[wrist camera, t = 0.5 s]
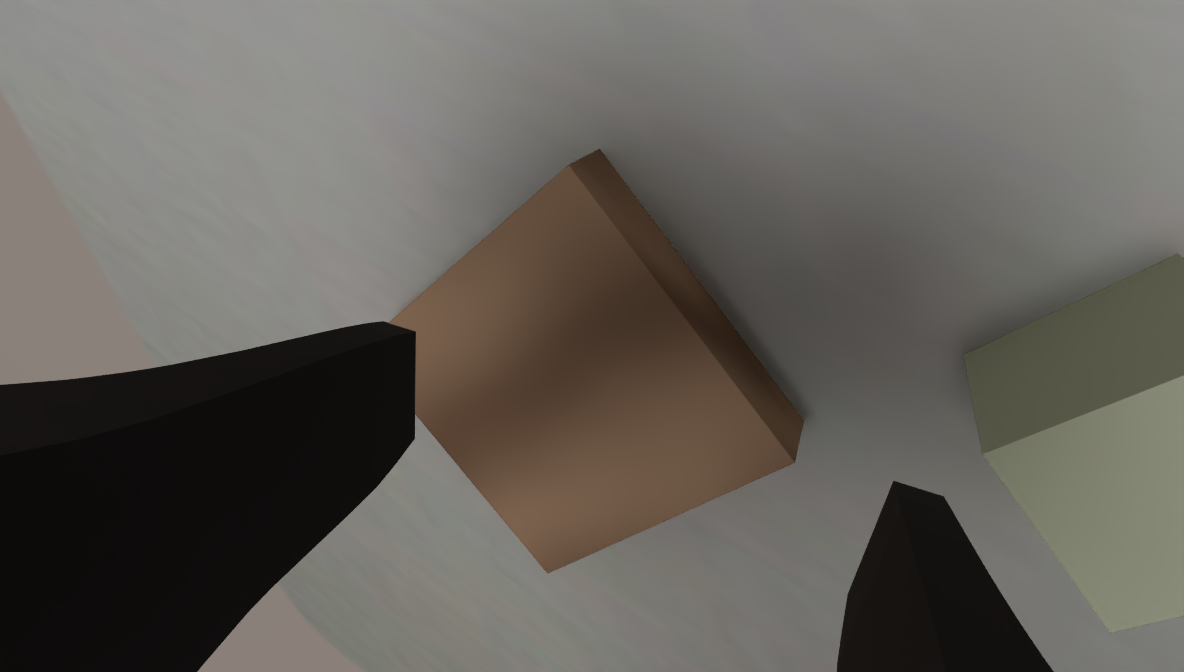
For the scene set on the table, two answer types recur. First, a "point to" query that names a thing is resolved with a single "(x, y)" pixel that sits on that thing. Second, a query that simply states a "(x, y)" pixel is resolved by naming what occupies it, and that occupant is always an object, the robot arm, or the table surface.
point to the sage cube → (1097, 439)
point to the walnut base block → (590, 373)
